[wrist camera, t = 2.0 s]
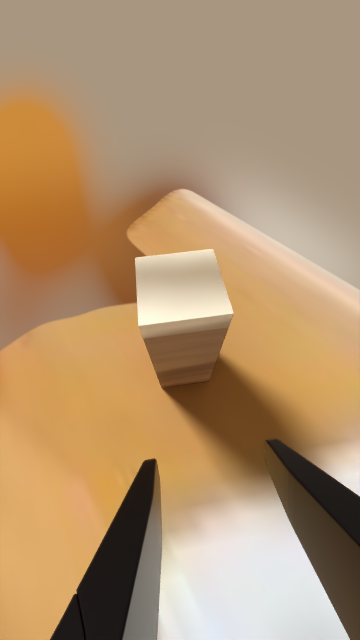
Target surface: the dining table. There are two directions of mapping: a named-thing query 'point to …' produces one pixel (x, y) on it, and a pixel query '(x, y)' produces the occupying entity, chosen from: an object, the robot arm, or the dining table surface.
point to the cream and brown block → (182, 314)
